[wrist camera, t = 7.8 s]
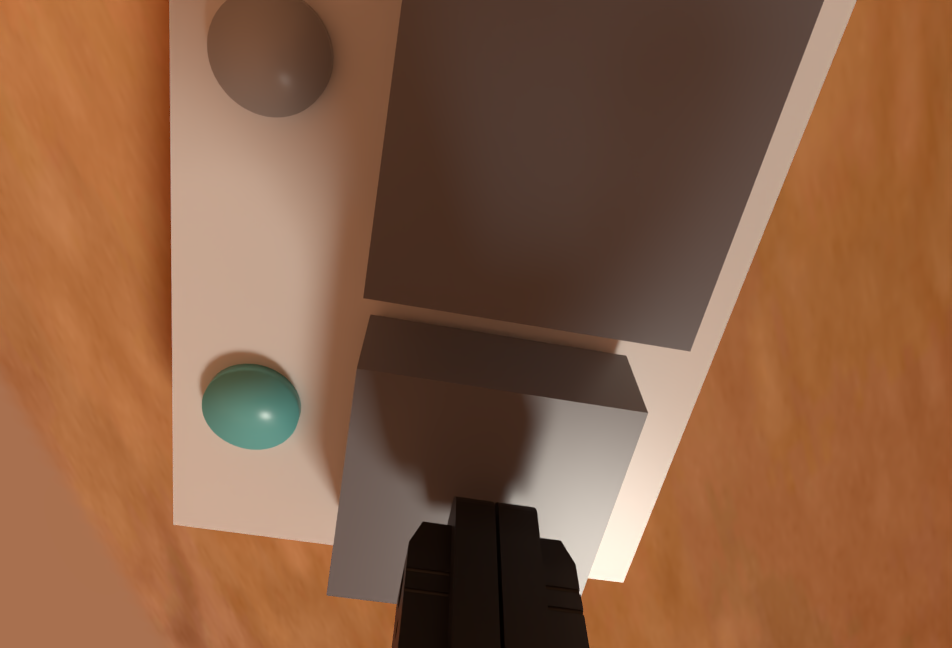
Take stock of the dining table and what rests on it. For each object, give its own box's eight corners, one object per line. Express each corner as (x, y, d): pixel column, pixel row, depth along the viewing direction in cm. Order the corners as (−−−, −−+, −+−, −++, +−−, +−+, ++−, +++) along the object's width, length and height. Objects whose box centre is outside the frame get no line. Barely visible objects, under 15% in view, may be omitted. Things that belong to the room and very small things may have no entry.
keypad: (244, -876, 10) (147, -1232, 7) (1007, -634, 11) (1211, -849, 8) (212, 445, 20) (169, 533, 17) (603, 500, 21) (625, 591, 18)
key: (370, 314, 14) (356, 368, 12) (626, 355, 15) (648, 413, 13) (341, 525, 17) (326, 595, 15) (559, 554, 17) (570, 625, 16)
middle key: (427, -118, 10) (418, -129, 8) (776, -41, 11) (838, -36, 9) (377, 247, 13) (363, 298, 11) (660, 296, 13) (689, 351, 12)
